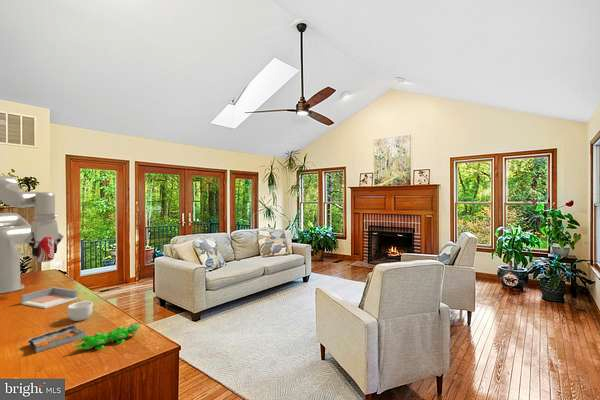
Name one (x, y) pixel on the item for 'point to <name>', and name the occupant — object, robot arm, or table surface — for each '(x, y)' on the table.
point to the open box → (49, 297)
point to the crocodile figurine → (106, 337)
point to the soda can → (45, 250)
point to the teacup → (80, 310)
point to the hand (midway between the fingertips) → (44, 254)
